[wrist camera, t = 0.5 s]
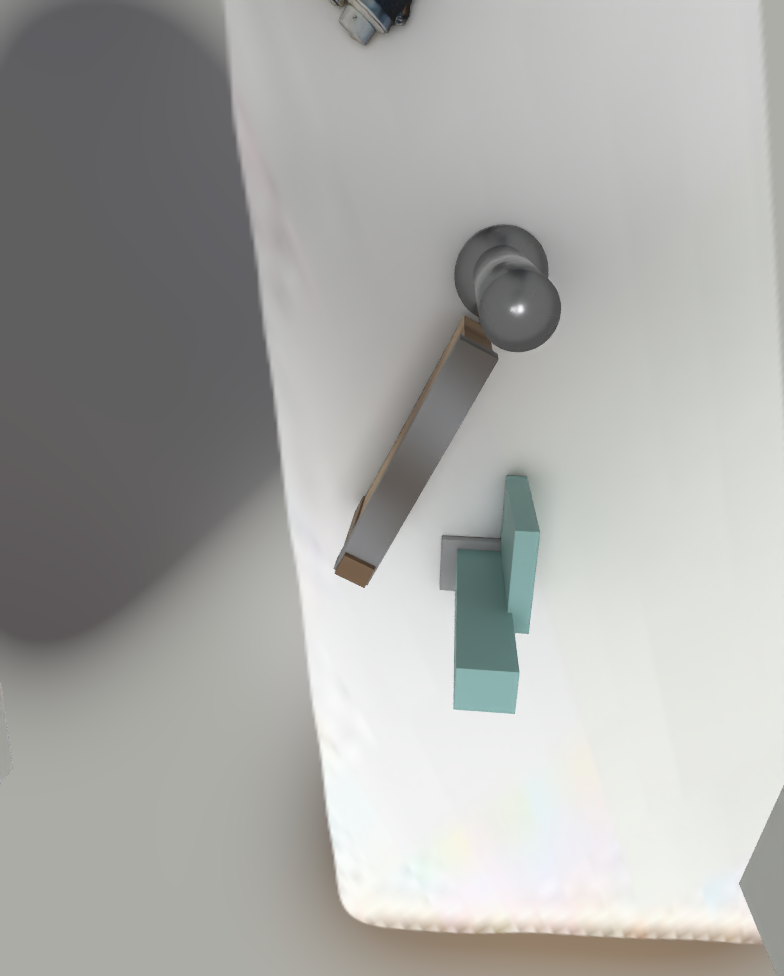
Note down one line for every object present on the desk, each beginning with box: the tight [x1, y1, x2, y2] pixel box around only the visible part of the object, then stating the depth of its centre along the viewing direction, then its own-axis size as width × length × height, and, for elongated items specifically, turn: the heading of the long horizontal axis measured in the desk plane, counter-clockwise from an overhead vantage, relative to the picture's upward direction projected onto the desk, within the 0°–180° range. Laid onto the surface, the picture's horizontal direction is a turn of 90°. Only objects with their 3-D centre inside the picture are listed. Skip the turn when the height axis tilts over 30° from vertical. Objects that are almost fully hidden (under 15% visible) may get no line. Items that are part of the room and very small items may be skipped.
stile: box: [440, 476, 540, 714], centre depth 30 cm, size 6×4×10 cm, turn 179°
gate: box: [334, 316, 498, 588], centre depth 29 cm, size 11×2×6 cm, turn 153°
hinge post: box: [455, 225, 561, 352], centre depth 25 cm, size 4×4×10 cm
